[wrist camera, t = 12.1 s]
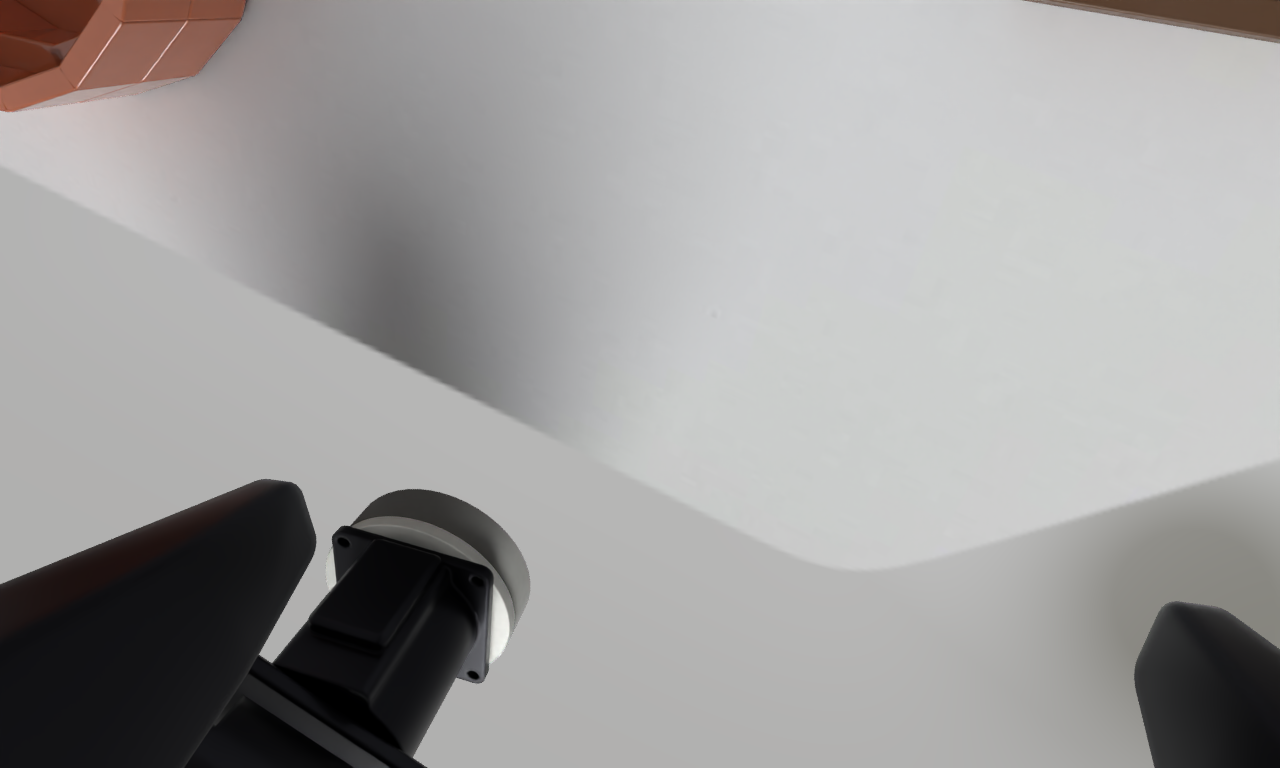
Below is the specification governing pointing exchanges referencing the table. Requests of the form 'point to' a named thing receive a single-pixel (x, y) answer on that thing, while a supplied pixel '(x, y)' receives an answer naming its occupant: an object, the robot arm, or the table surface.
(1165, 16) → the tray
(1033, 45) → the table surface
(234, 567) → the robot arm
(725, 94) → the table surface
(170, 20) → the bowl
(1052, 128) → the table surface
